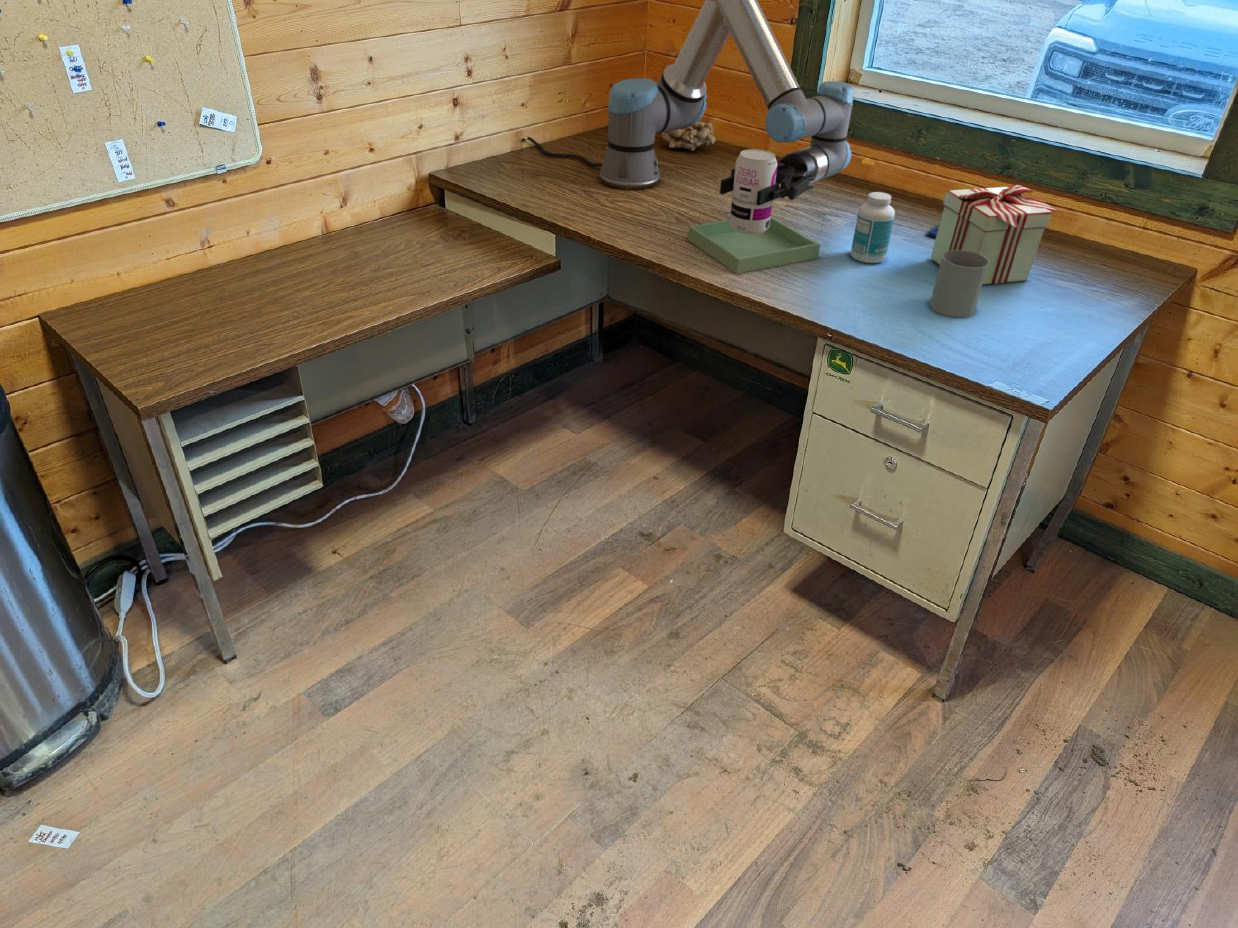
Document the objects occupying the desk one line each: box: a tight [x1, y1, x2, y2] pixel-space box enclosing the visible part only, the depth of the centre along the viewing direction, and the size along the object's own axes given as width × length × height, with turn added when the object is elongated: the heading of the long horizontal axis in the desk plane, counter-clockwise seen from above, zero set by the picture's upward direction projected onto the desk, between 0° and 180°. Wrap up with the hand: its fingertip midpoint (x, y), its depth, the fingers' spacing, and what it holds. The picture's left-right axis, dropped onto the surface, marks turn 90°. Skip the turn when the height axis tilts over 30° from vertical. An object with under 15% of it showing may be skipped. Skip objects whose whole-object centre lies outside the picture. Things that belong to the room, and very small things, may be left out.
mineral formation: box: [661, 121, 717, 152], centre depth 248 cm, size 8×13×15 cm
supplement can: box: [729, 148, 778, 234], centre depth 178 cm, size 8×8×15 cm
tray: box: [687, 215, 821, 274], centre depth 190 cm, size 20×21×3 cm
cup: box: [929, 250, 989, 319], centre depth 168 cm, size 8×8×10 cm
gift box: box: [930, 184, 1059, 286], centre depth 180 cm, size 17×18×17 cm
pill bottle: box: [850, 191, 896, 264], centre depth 185 cm, size 8×7×14 cm
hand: (740, 192), depth 175 cm, fingers closed on supplement can, 8 cm apart
